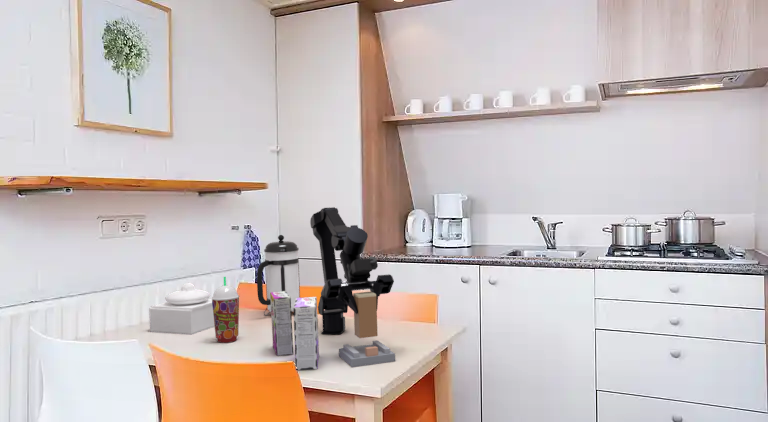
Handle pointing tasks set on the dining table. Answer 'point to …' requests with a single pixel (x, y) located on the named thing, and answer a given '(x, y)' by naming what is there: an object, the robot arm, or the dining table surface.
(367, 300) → the cream-topped square box
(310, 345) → the candy box
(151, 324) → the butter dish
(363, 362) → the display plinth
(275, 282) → the coffee press
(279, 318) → the candy bar box
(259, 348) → the dining table surface
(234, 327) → the smoothie
